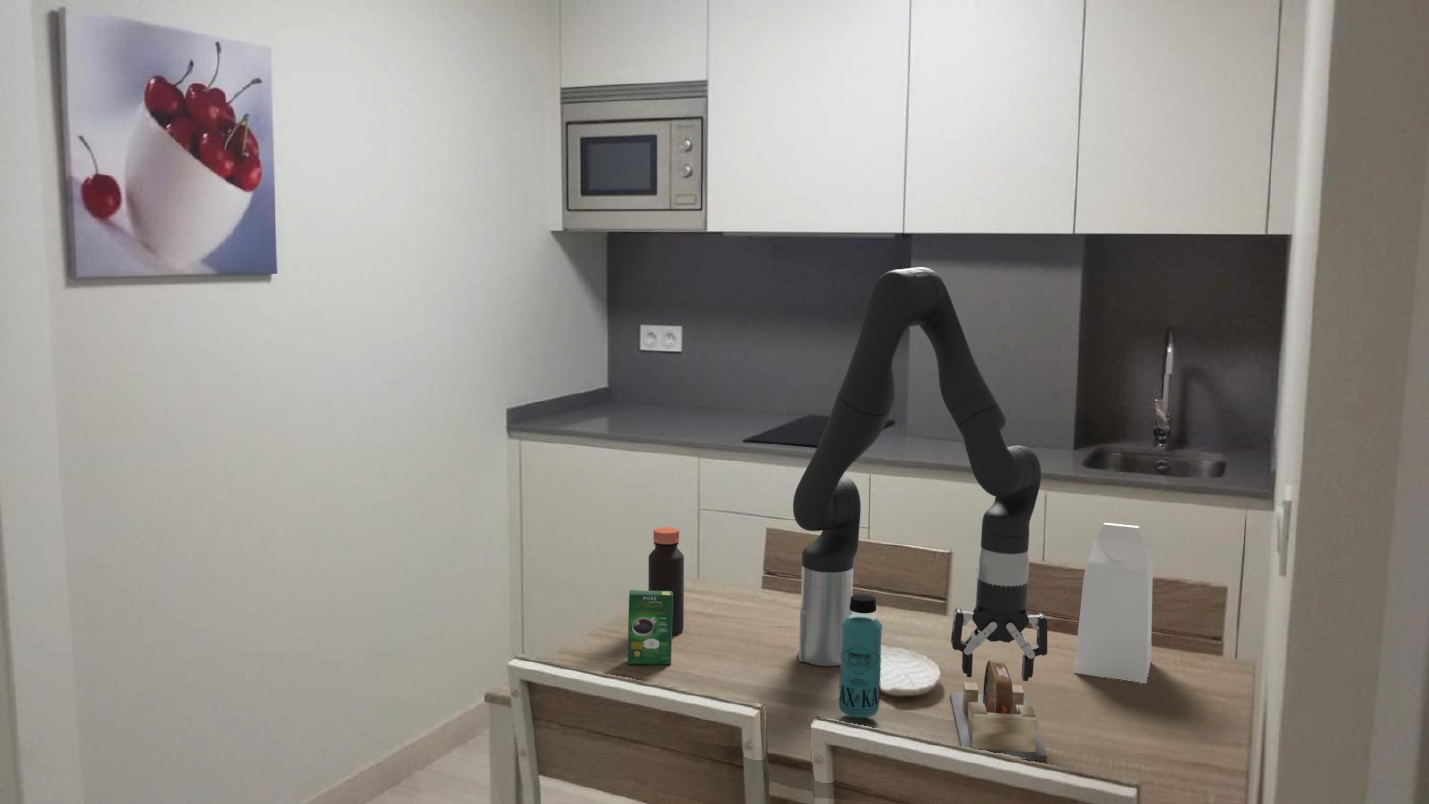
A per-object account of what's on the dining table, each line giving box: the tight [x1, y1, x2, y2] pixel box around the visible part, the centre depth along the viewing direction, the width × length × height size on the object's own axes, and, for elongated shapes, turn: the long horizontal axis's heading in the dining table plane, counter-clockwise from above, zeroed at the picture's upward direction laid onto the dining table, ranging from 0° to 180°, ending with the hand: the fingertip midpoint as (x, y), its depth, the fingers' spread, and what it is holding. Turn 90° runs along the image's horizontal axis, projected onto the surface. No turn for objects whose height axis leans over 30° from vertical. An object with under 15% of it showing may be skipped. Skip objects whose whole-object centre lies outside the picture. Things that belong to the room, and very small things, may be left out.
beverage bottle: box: [837, 593, 883, 718], centre depth 175 cm, size 6×7×20 cm
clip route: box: [949, 681, 1048, 762], centre depth 173 cm, size 12×22×6 cm, turn 173°
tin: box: [982, 660, 1013, 714], centre depth 173 cm, size 15×3×8 cm, turn 172°
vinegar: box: [648, 526, 685, 637], centre depth 215 cm, size 7×7×20 cm
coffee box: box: [627, 589, 673, 666], centre depth 198 cm, size 8×3×13 cm, turn 92°
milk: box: [1073, 522, 1154, 685], centre depth 197 cm, size 12×12×26 cm
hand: (996, 677), depth 173 cm, fingers open, 8 cm apart
